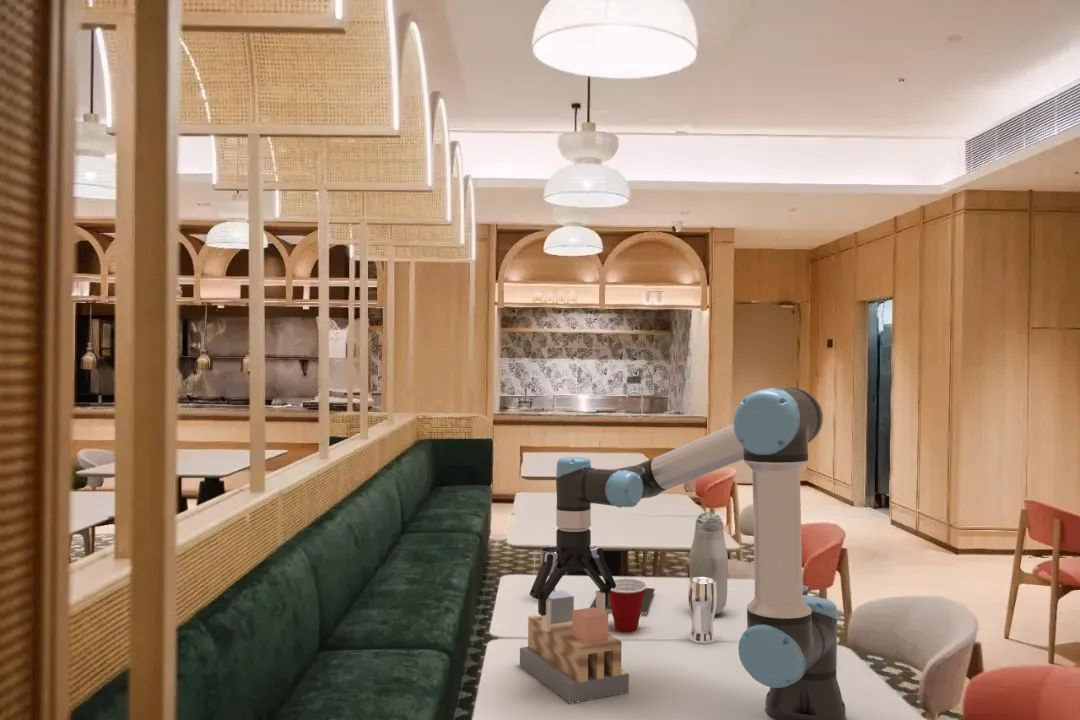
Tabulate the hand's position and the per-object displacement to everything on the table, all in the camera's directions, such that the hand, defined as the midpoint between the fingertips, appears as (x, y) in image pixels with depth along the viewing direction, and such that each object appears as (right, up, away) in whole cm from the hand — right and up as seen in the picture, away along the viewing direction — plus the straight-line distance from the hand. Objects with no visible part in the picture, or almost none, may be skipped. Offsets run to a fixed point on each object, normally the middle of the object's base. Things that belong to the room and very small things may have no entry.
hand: (573, 625), depth 187 cm
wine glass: (-3, -12, +60) cm, 61 cm away
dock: (0, -12, 0) cm, 12 cm away
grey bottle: (+39, -12, +49) cm, 64 cm away
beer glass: (+33, -12, +27) cm, 44 cm away
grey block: (-4, -1, +7) cm, 8 cm away
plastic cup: (+15, -12, +35) cm, 40 cm away
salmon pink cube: (+3, -1, -6) cm, 7 cm away
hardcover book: (+16, -13, +59) cm, 62 cm away
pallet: (0, -8, 0) cm, 8 cm away
